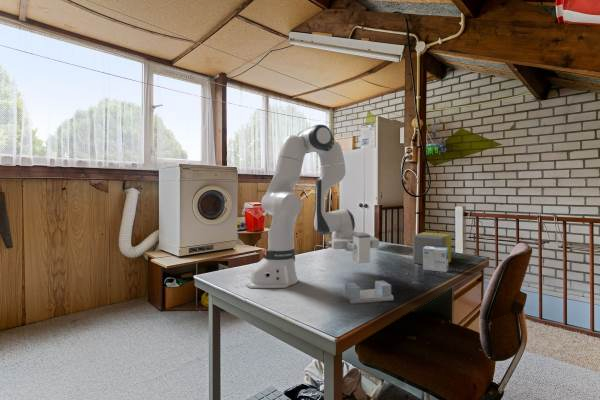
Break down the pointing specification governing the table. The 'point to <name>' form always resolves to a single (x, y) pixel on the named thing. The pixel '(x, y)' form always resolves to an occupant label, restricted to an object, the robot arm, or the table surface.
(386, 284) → the mounted modules
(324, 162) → the robot arm
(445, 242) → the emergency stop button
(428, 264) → the light bulb box
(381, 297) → the grey flat base plate
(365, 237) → the block
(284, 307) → the table surface
